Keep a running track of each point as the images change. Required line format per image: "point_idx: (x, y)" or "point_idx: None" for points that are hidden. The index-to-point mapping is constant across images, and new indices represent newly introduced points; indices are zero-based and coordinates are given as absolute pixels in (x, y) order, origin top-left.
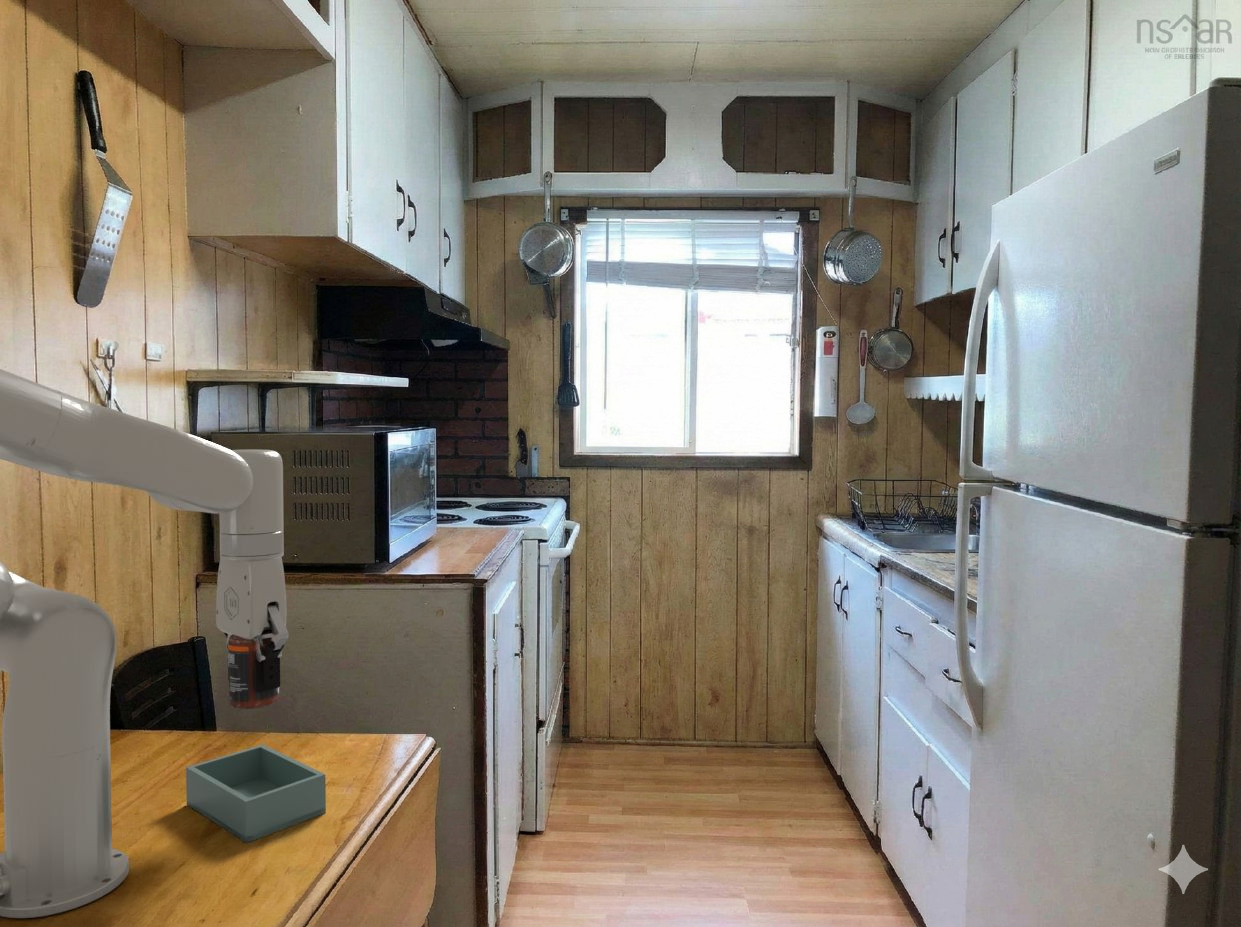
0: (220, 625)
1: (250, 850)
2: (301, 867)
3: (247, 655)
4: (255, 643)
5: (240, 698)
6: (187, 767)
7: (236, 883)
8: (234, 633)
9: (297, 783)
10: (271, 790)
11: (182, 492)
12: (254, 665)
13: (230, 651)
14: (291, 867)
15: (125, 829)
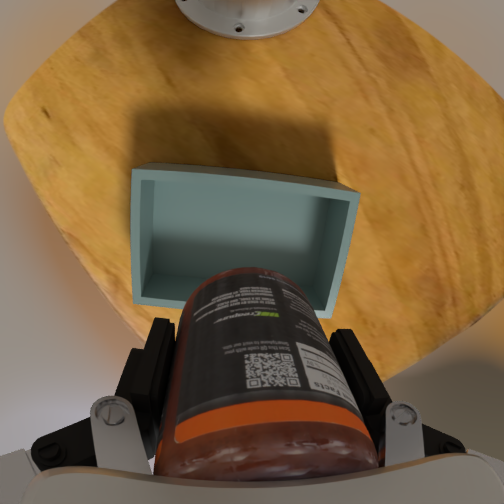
0: (447, 478)
1: (128, 155)
2: (50, 174)
3: (180, 408)
4: (134, 467)
5: (217, 285)
6: (357, 193)
7: (73, 106)
8: (259, 495)
9: (132, 259)
10: (139, 219)
11: None
12: (145, 380)
13: (288, 395)
14: (57, 167)
15: (338, 93)
